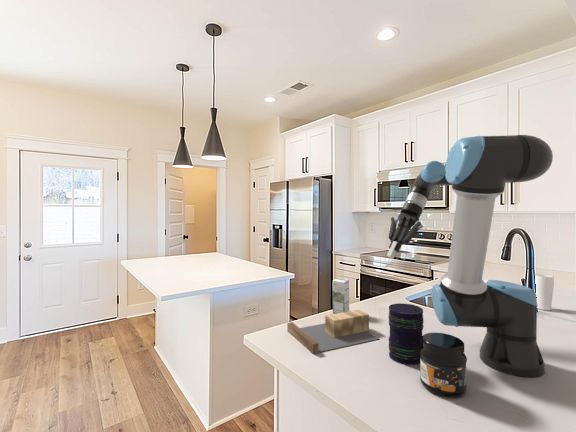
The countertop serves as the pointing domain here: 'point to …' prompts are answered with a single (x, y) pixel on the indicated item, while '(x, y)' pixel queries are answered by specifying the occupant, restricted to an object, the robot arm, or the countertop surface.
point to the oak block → (346, 323)
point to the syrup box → (340, 295)
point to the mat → (333, 343)
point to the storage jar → (405, 333)
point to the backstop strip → (303, 338)
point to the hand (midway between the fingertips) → (389, 257)
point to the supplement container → (443, 364)
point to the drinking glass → (544, 291)
